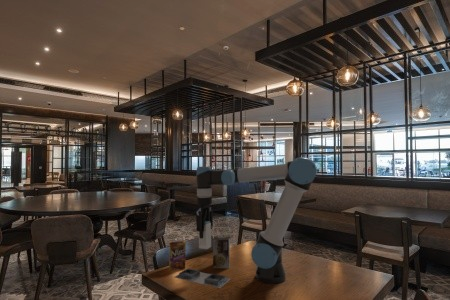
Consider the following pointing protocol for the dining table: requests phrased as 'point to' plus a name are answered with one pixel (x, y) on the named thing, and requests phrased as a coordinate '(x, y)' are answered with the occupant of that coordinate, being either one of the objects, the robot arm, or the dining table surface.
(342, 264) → the dining table surface
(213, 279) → the panel
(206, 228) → the white rectangular bottle
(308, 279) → the dining table surface
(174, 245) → the candy box
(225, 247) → the coffee box
